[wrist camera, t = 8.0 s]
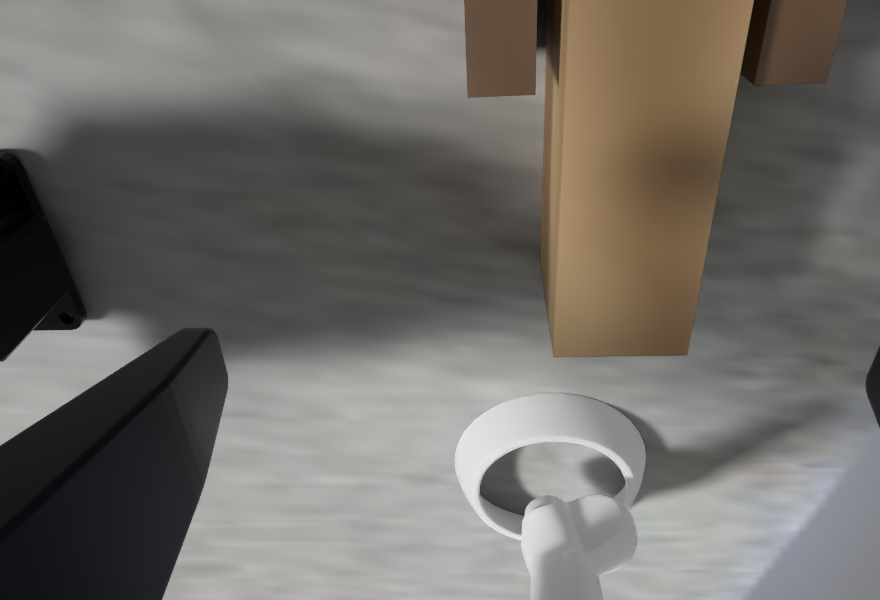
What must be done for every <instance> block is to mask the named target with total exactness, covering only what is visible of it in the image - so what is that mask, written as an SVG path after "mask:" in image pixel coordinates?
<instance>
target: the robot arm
mask: <svg viewBox="0 0 880 600" xmlns="http://www.w3.org/2000/svg"><path fill="white" fill-rule="evenodd" d="M0 165H2V166H3V167H5V168H6V170H7V171H8V174H6V173H5V172H3V171H2V170H1V168H0V361H4V360H6V359H7V358H8V357H9V356H10V354H11V353H12V352H13V351H14V350H15V349H16V348H17V347H18V346H19V345H20V344H21V342H22V341H23V340H24V339H25V338H26V337H27V336H28V335H29V334H30V333H31V332H32V330H73V329H77V328H78V327H80V326H81V324H82V323H83V322H84V321H85V319H86V317H87V315H86V311H85V308H84V306H83V304H82V301H81V299H80V297H79V295H78V292H77V290H76V288H75V285H74V283H73V280H72V277H71V275H70V273H69V271H68V268H67V266H66V264H65V261H64V259H63V257H62V254H61V252H60V250H59V247H58V245H57V243H56V240H55V238H54V236H53V234H52V231H51V229H50V227H49V224H48V222H47V221H46V218H45V216H44V214H43V211H42V209H41V207H40V204H39V202H38V200H37V198H36V195H35V193H34V191H33V188H32V186H31V184H30V181H29V179H28V177H27V174H26V172H25V170H24V168H23V166H22V164H21V162H20V161H19V160H18V159H17V158H16V157H15V156H14V155H12V154H10V153H8V152H2V151H0ZM67 313H69V314H70V315H72V317H70V316H69V315H67ZM227 390H228V374H227V370H226V366H225V363H224V359H223V355H222V351H221V348H220V344H219V340H218V337H217V335H216V333H215V331H213V330H212V329H210V328H184V329H181V330H180V331H178V332H176V333H175V334H173V335H172V336H170V337H169V338H167V339H166V340H164V341H162V342H161V343H159V344H158V345H156V346H155V347H153V348H152V349H150V350H148V351H147V352H145V353H144V354H142V355H141V356H139V357H138V358H136V359H134V360H133V361H131V362H130V363H128V364H127V365H125V366H124V367H122V368H120V369H119V370H117V371H116V372H114V373H113V374H111V375H110V376H108V377H106V378H105V379H103V380H102V381H100V382H99V383H97V384H96V385H94V386H92V387H91V388H89V389H88V390H86V391H85V392H83V393H82V394H80V395H78V396H77V397H75V398H74V399H72V400H71V401H69V402H68V403H66V404H64V405H63V406H61V407H60V408H58V409H57V410H55V411H54V412H52V413H50V414H49V415H47V416H46V417H44V418H43V419H41V420H40V421H38V422H36V423H35V424H33V425H32V426H30V427H29V428H27V429H26V430H24V431H22V432H21V433H19V434H18V435H16V436H15V437H13V438H12V439H10V440H8V441H7V442H5V443H4V444H2V445H1V446H0V600H162V598H163V596H164V593H165V590H166V588H167V585H168V582H169V579H170V577H171V574H172V571H173V569H174V566H175V563H176V561H177V558H178V555H179V553H180V550H181V547H182V545H183V542H184V539H185V536H186V534H187V531H188V528H189V526H190V523H191V520H192V518H193V515H194V512H195V510H196V507H197V504H198V502H199V499H200V496H201V493H202V490H203V487H204V484H205V480H206V476H207V473H208V469H209V465H210V460H211V456H212V452H213V448H214V444H215V440H216V436H217V432H218V427H219V423H220V419H221V415H222V411H223V407H224V403H225V398H226V394H227ZM866 393H867V396H868V399H869V402H870V404H871V407H872V409H873V412H874V415H875V417H876V420H877V422H878V425H879V428H880V346H879V349H878V351H877V353H876V356H875V358H874V360H873V363H872V365H871V368H870V370H869V372H868V375H867V378H866Z"/></svg>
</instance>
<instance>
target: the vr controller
mask: <svg viewBox="0 0 880 600" xmlns="http://www.w3.org/2000/svg"><path fill="white" fill-rule="evenodd" d="M541 442H569V443H576V444H581V445H584V446H587V447H591V448H593V449H595V450H597V451H599V452H601V453H603V454H605V455H606V456H607V457H609V458H610V459H611V460H613V461H614V462H615V463H616V465H617V466H618V467H619V468H620V469H621V471H622V473H623V476H624V478H625V482H626V485H625V486H624V487H623V489H622V490H621V491H620V492H619V493H618V494H616V495H615V496H614V497H613V498H610V497H608V496H604V495H590V496H586V497H583V498H580V499H576V500H573V501H570V502H567V503H566V502H564V501H562V500H561V499H559V498H557V497H554V496H548V495H546V496H541V497H538V498H536V499H534V500H532V501H531V502H530V503H529V504H528V505H527V507H526V510H525V516H523V515H519V514H515V513H512V512H508V511H506V510H504V509H501V508H499V507H497V506H495V505H493V504H492V503H490V502H489V501H487V500H486V499H484V498H483V497H482V496H481V495H480V484H481V481H482V478H483V476H484V474H485V473H486V471H487V469H488V468H489V467H490V466H491V465H492V464H493V463H494V462H495V461H496V460H497V459H499V458H500V457H502V456H503V455H505V454H506V453H508V452H510V451H513V450H515V449H517V448H519V447H523V446H526V445H530V444H534V443H541ZM645 463H646V453H645V445H644V443H643V440H642V438H641V435H640V433H639V431H638V430H637V429H636V427H635V426H634V425H633V424H632V422H631V421H630V420H629V419H628V418H627V417H625V416H624V415H623V414H622V413H620V412H619V411H618V410H616V409H614V408H612V407H611V406H609V405H607V404H605V403H603V402H601V401H597V400H594V399H591V398H588V397H585V396H580V395H573V394H567V393H541V394H534V395H527V396H522V397H519V398H515V399H512V400H509V401H505V402H503V403H501V404H499V405H497V406H495V407H493V408H491V409H489V410H487V411H486V412H485V413H483V414H482V415H481V416H479V417H478V418H477V419H475V420H474V421H473V422H472V424H471V425H470V426H469V427H468V428H467V429H466V430H465V432H464V433H463V435H462V437H461V439H460V441H459V442H458V446H457V450H456V454H455V470H456V473H457V476H458V479H459V482H460V485H461V488H462V490H463V492H464V494H465V496H466V498H467V499H468V501H469V502H470V504H471V505H472V507H473V508H474V510H475V511H476V513H477V514H478V515H479V517H480V518H481V519H482V520H483V521H484V522H485V523H486V524H488V525H489V526H490V527H492V528H493V529H495V530H496V531H498V532H499V533H502V534H504V535H506V536H508V537H511V538H514V539H517V540H521V545H522V552H523V556H524V559H525V562H526V565H527V567H528V570H529V573H530V576H531V596H530V600H603V595H602V591H601V587H600V582H599V578H598V576H600V575H604V574H607V573H610V572H613V571H616V570H618V569H620V568H621V567H623V566H624V565H625V564H626V563H627V562H628V561H629V560H630V559H631V557H632V556H633V554H634V552H635V550H636V546H637V532H636V526H635V523H634V519H633V517H632V515H631V514H630V512H629V510H630V508H631V506H632V504H633V502H634V500H635V498H636V496H637V493H638V491H639V489H640V486H641V483H642V479H643V474H644V469H645Z"/></svg>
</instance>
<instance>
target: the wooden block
mask: <svg viewBox="0 0 880 600" xmlns="http://www.w3.org/2000/svg"><path fill="white" fill-rule="evenodd" d="M753 2H754V0H548V12H547V47H546V82H545V117H544V152H543V186H542V221H541V256H540V265H541V272H542V279H543V286H544V293H545V301H546V308H547V315H548V322H549V329H550V336H551V343H552V351H553V357H601V356H673V355H687V353H688V348H689V342H690V337H691V332H692V326H693V321H694V316H695V311H696V305H697V300H698V295H699V289H700V284H701V279H702V273H703V268H704V263H705V257H706V252H707V247H708V241H709V236H710V231H711V225H712V220H713V215H714V210H715V204H716V199H717V194H718V188H719V183H720V178H721V172H722V167H723V162H724V156H725V151H726V146H727V140H728V135H729V130H730V124H731V119H732V114H733V109H734V103H735V98H736V93H737V87H738V82H739V77H740V71H741V66H742V61H743V55H744V50H745V45H746V39H747V34H748V29H749V24H750V18H751V13H752V8H753Z"/></svg>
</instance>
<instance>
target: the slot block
mask: <svg viewBox="0 0 880 600" xmlns="http://www.w3.org/2000/svg"><path fill="white" fill-rule="evenodd" d="M847 1H848V0H754V2H753V8H752V13H751V18H750V24H749V29H748V34H747V39H746V45H745V50H744V55H743V61H742V66H741V71H740V73H741V74H742V75H743V76H744V77H745V78H746V79H747V80H748V81H749V82H751V83H752V84H753V85H754V86H758V85H782V84H806V83H826V81H827V77H828V74H829V70H830V66H831V62H832V58H833V54H834V51H835V47H836V43H837V39H838V35H839V32H840V28H841V24H842V20H843V16H844V12H845V9H846V5H847ZM464 5H465V34H466V62H467V90H468V98H470V97H494V96H518V95H535V89H536V42H537V0H464Z"/></svg>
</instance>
